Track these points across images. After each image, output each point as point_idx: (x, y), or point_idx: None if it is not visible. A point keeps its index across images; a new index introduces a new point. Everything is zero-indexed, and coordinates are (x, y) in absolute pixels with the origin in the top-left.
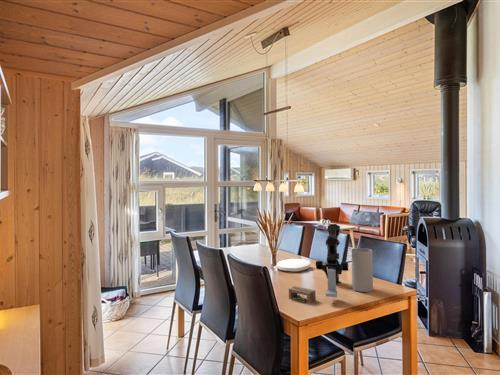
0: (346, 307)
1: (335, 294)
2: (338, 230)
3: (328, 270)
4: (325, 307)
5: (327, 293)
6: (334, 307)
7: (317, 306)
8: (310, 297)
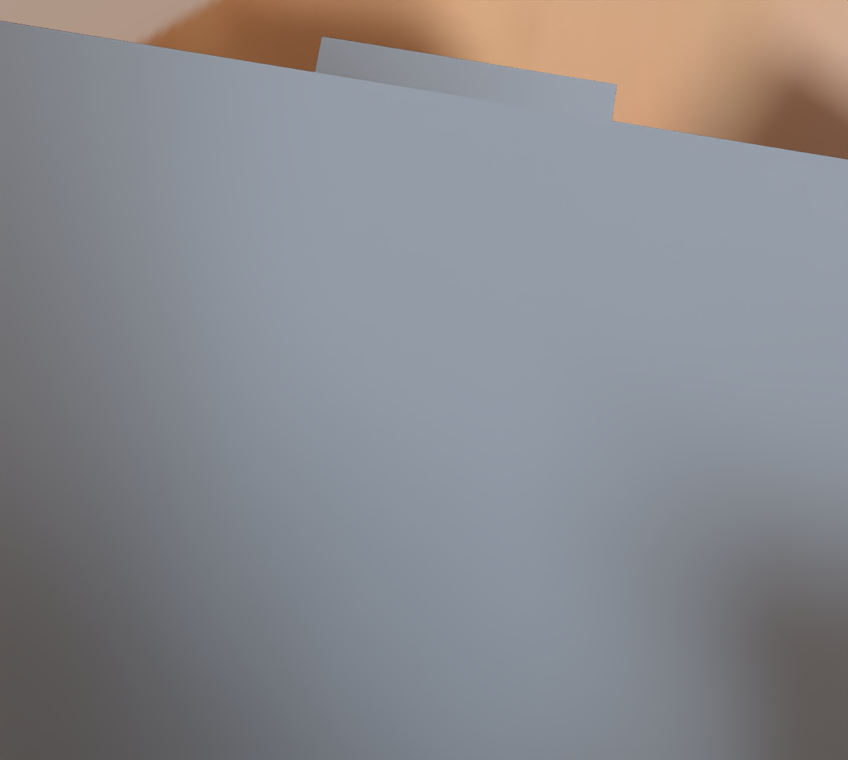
0: (183, 27)
1: (358, 46)
2: None
3: (781, 158)
4: (586, 11)
5: (569, 106)
6: (415, 18)
7: (737, 55)
8: None
